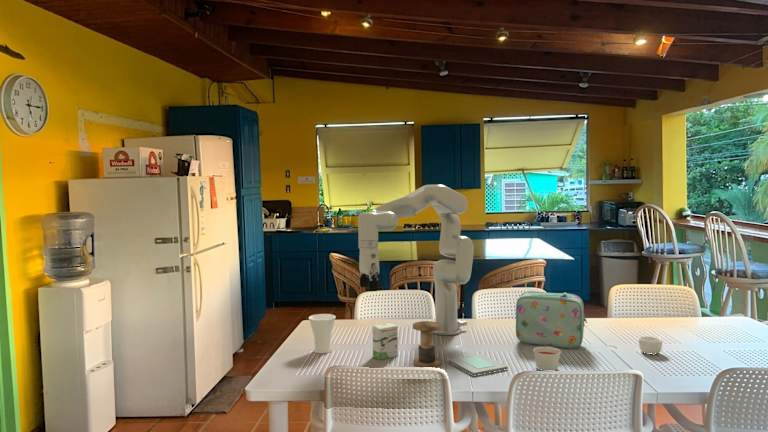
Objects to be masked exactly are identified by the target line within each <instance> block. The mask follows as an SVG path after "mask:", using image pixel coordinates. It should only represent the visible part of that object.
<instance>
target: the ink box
mask: <svg viewBox="0 0 768 432" xmlns="http://www.w3.org/2000/svg"><path fill="white" fill-rule="evenodd" d="M398 327H399V326H398V325H396V324H394V323H392V322H388V323H381V324H374V325H373V326H372V357H373V358H375V359H378V360H379V361H380V360H385V359H390V358H394V357H398V356H399V355H398V354H399V348H398V346H399V343H398V342H399V341H398V338H399V337H398V333H399V331H398Z"/></svg>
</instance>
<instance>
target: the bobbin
mask: <svg viewBox="0 0 768 432" xmlns="http://www.w3.org/2000/svg"><path fill="white" fill-rule="evenodd" d="M440 328H441V324H440V323H437V322H436V321H429V320H425V321H424V320H423V321H415V322H413V323H412V329H413V330H415V331H420V345H418V356H416V357H414V358H413V360H412V364H413V365H414V366H416V367H418V366H422V367H421V368H423V367H432V368H438V367H440V366H441V364H442V360H441V358H439V357H437V356H436V345H434V333H433V331H435V330H439V329H440Z"/></svg>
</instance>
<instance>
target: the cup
mask: <svg viewBox="0 0 768 432" xmlns="http://www.w3.org/2000/svg"><path fill="white" fill-rule="evenodd" d="M308 320H309V323H310V327H311V329H312V333H313V337H314V353H315V354H328V353H330V352H332V347H331V346H332V345H331V343H332V342H331V339H332V331H333V328H334V324H335V321H336V315H334V314H331V313H318V314H316V313H315V314H312V315H310V316H309V317H308Z"/></svg>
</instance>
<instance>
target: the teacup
mask: <svg viewBox="0 0 768 432" xmlns="http://www.w3.org/2000/svg"><path fill="white" fill-rule="evenodd" d="M638 347H639V350H640V351H641V352H642V353H643V352H645V353H652V354H655V353H658V354H659V352H660V353H661V352H662V347H663V341H662V339H661V338H659V337H657V336H656V337H654V336H648V335H646V336H645V335H643V336H640V337H638ZM645 353H644V354H645Z"/></svg>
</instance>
